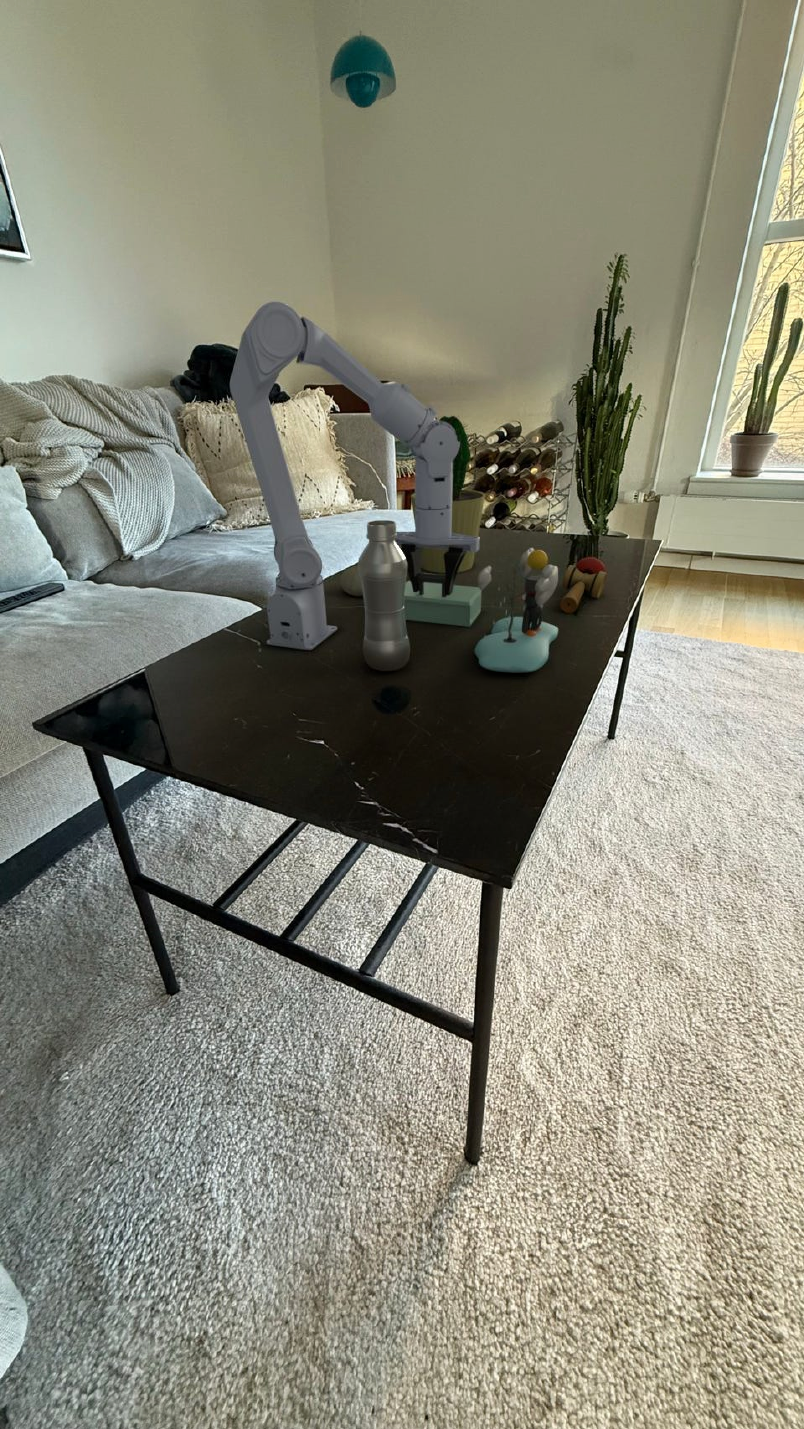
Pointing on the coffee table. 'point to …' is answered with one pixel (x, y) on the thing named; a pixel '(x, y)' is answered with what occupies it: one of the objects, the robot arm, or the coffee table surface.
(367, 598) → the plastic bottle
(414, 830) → the coffee table surface
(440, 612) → the teal open box
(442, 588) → the lid
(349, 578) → the sea urchin shell
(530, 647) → the figurine on blue base
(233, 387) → the robot arm
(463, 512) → the potted cactus
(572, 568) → the kendama
